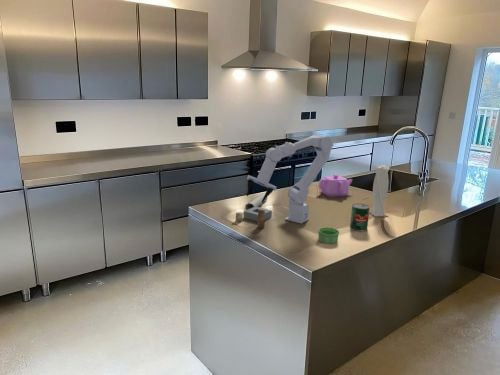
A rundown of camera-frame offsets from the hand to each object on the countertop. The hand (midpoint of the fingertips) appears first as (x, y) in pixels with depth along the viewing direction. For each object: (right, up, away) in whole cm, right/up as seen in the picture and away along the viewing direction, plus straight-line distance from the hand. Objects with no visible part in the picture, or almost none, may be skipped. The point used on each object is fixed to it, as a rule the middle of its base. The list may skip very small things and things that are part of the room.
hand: (254, 199), depth 176 cm
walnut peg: (+3, -13, -2) cm, 14 cm away
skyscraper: (+65, -9, +19) cm, 68 cm away
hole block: (+2, -10, +11) cm, 15 cm away
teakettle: (+51, +1, +58) cm, 77 cm away
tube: (+2, -5, +30) cm, 31 cm away
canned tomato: (+49, -14, 0) cm, 51 cm away
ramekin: (+31, -18, -15) cm, 39 cm away
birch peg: (-8, -11, +5) cm, 14 cm away
